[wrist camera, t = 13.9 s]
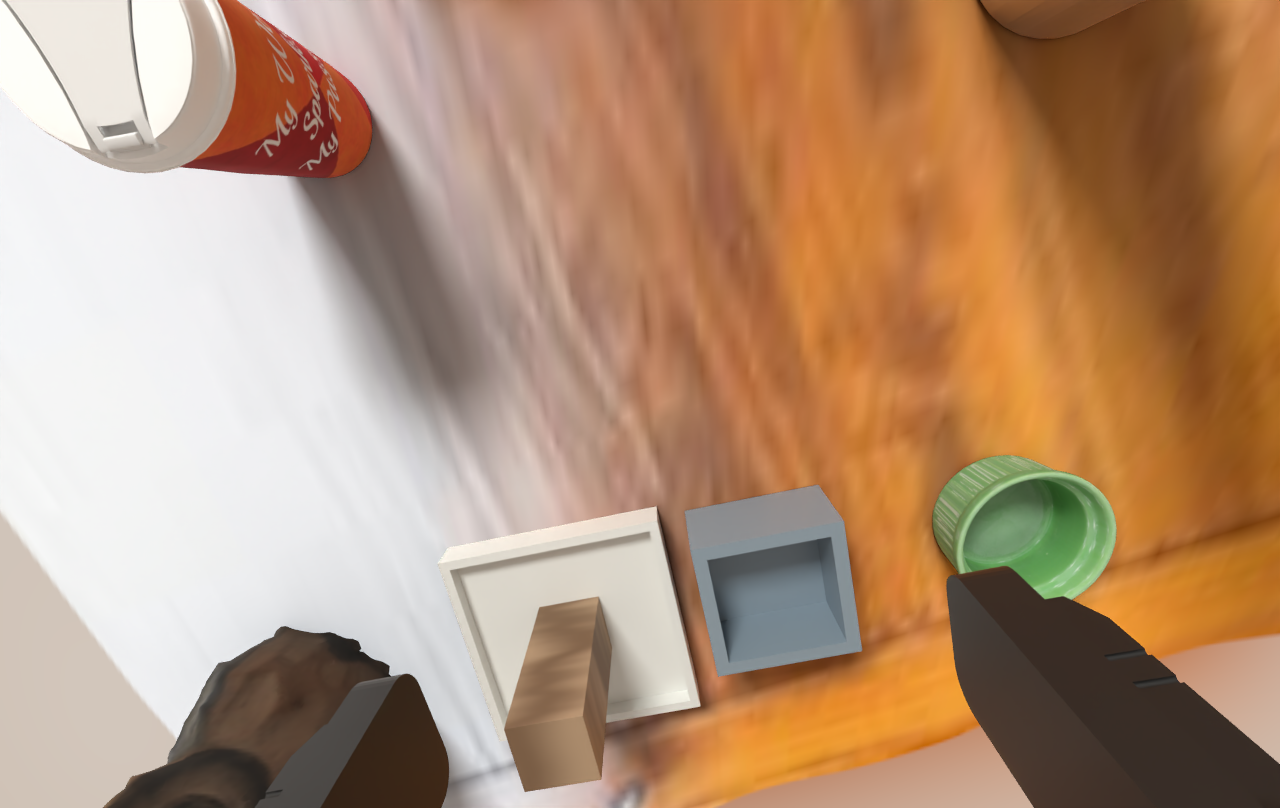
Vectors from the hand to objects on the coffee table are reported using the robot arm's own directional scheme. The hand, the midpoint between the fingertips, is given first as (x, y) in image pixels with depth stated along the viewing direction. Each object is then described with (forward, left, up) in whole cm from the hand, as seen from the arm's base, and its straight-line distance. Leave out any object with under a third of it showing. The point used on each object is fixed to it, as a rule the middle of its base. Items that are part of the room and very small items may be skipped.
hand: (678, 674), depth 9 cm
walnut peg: (+9, +17, -26) cm, 32 cm away
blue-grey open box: (-4, +15, -27) cm, 31 cm away
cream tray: (+9, +17, -27) cm, 33 cm away
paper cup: (+15, -16, -27) cm, 35 cm away
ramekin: (-19, +15, -28) cm, 37 cm away
